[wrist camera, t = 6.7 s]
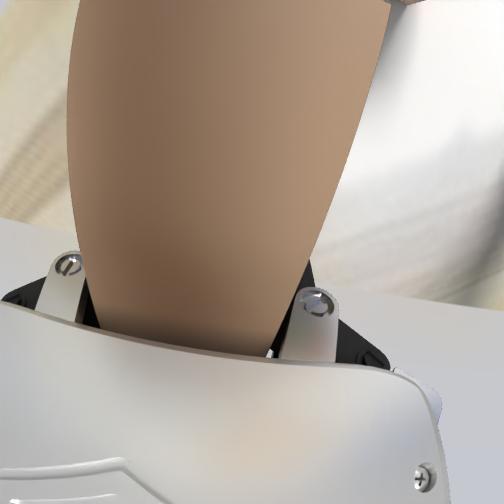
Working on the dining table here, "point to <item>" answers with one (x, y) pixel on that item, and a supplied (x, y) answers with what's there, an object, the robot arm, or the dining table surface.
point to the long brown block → (210, 156)
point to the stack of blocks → (410, 1)
